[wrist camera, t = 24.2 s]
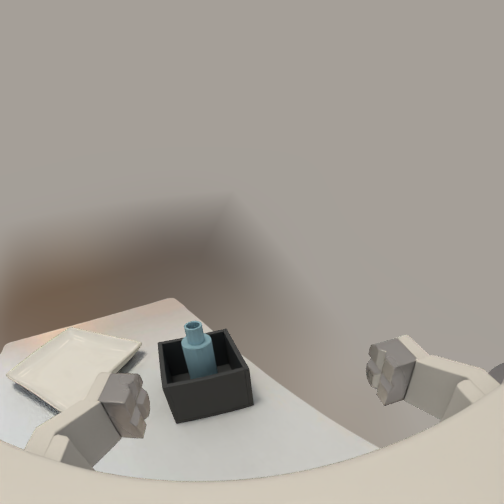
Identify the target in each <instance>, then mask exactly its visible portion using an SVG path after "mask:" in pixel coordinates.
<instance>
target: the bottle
mask: <svg viewBox="0 0 504 504" xmlns="http://www.w3.org/2000/svg"><path fill="white" fill-rule="evenodd" d="M184 328H185V332H186V337H185V338H183V339H182V341H181V344H182V348H183V352H184V356H185V360H186V364H187V368H188V371H189V375H190V379H195V378H200V377H204V376H209V375H213V374H217V373H218V371H217V366H216V361H215V356H214V350H213V345H212V340H211V337H210V336H209V335H207V334H204V333H203V329H202V324H201V322H199V321H191V322H188V323H186V324H185V325H184Z"/></svg>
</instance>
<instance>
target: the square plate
mask: <svg viewBox="0 0 504 504" xmlns="http://www.w3.org/2000/svg"><path fill="white" fill-rule="evenodd" d="M141 345H142V343H141V342H138V341H133V340H128V339H123V338H118V337H114V336H109V335H105V334H100V333H96V332H91V331H87V330H82V329H77V328H73V327H69V328H67V329H66V330H65V331H63V332H62V333H60V334H59V335H57V336H56V337H54V338H53V339H51V340H50V341H48V342H47V343H45V344H44V345H43V346H41V347H40V348H39V349H37V350H36V351H34V352H33V353H32V354H31V355H29V356H28V357H27V358H25V359H24V360H23V361H22V362H20V363H19V364H18V365H17V366H15V367H14V368H13V369H12V370H10V371H9V372H8V373H7V374H6V376H7V377H8V378H9V379H10V380H12V381H14V382H15V383H17V384H19V385H21V386H22V387H24V388H26V389H27V390H29V391H31V392H32V393H34V394H35V395H37V396H38V397H39V398H41V399H42V400H44V401H45V402H47V403H48V404H49V405H51V406H52V407H54V408H55V409H57V410H58V411H60V412H62V411H64V410H66V409H67V408H69V407H70V406H72V405H74V404H75V403H77V402H78V401H80V400H85V398H86V396H87V394H88V392H89V390H90V388H91V386H92V385H93V383H94V381H95V379H96V377H97V375H98V374H99V373H101V372H106V373H117V372H118V371H119V370H120V369H121V368H122V367H123V366H124V365H125V364H126V363H127V362H128V361H129V360H130V359H131V358H132V357H133V356H134V355H135V353H136V352H137V351H138V349H139V348H140V346H141Z"/></svg>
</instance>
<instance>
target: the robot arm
mask: <svg viewBox="0 0 504 504" xmlns="http://www.w3.org/2000/svg"><path fill="white" fill-rule="evenodd" d="M369 355H370V357H371V359H370V361H369V362H368V363H367V368H366V375H367V379H368V382H369V384H370V385H371V387H373V388H375V389H377V396H378V398H379V399H380V400H381V402H382V403H383V405H384V406H386V405H389V404H392V403H395V402H398V401H401V400H404V401H406V402H408V403H410V404H411V405H413V406H415V407H417V408H419V409H421V410H423V411H425V412H427V413H429V414H431V415H432V416H434V417H436V418H438V419H440V422H439V423H438V424H436V425H434V426H432V427H430V428H428V429H426V430H424V431H422V432H420V433H417V434H415V435H413V436H411V437H408V438H406V439H404V440H401V441H399V442H396V443H394V444H392V445H389V446H386V447H384V448H381V449H378V450H376V451H373V452H370V453H367V454H364V455H361V456H358V457H355V458H351V459H348V460H345V461H341V462H338V463H334V464H330V465H326V466H322V467H318V468H313V469H309V470H304V471H299V472H294V473H288V474H282V475H276V476H269V477H261V478H252V479H242V480H227V481H168V480H154V479H144V478H135V477H127V476H121V475H114V474H109V473H103V472H98V471H95V470H94V469H93V468H92V467H93V466H94V465H95V464H96V463H97V462H98V461H99V460H100V459H101V458H102V457H103V456H104V455H106V454H107V453H108V452H109V451H110V450H111V449H112V448H113V447H114V446H115V445H116V443H117V442H118V441H119V440H120V439H121V437H126V438H143V437H144V433H145V429H146V423H145V421H144V419H146V418H147V417H148V416H149V412H150V401H149V396H148V394H147V392H146V391H145V390H144V389H143V388H141V387H142V384H143V381H142V379H141V377H140V375H138V374H130V373H106V372H101V373H99V374H98V375H97V377H96V379H95V381H94V383H93V385H92V386H91V388H90V390H89V392H88V394H87V396H86V398H85V400H80V401H78V402H77V403H75V404H74V405H72V406H70V407H69V408H67V409H66V410H64V411H62V412H61V413H59V414H57V415H56V416H54V417H53V418H51V419H49V420H48V421H46V422H44V423H43V424H41V425H39V426H38V427H36V429H35V430H34V432H33V434H32V436H31V438H30V439H29V441H28V443H27V445H26V447H25V449H24V450H23V449H21V448H18V447H16V446H13V445H11V444H9V443H6V442H4V441H2V440H0V504H504V380H503V382H502V384H501V385H500V384H499V383H498V382H497V381H496V380H495V379H494V378H493V377H492V376H491V375H489V374H488V373H487V372H486V371H485V370H484V369H482V368H478V367H474V366H471V365H467V364H463V363H460V362H456V361H453V360H449V359H445V358H442V357H439V356H435V355H432V356H430V355H428V354H427V353H426V352H425V351H424V350H423V349H422V348H421V347H420V346H419V345H418V344H417V343H416V342H415V341H414V340H413V339H412V338H410V336H408V335H403V336H400V337H397V338H394V339H392V340H388V341H384V342H381V343H377V344H373V345H371V347H370V349H369Z"/></svg>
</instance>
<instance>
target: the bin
mask: <svg viewBox="0 0 504 504" xmlns="http://www.w3.org/2000/svg"><path fill="white" fill-rule="evenodd" d="M204 334H207V335H209V336H210V337H211V340H212V345H213V350H214V356H215V361H216V366H217V371H218V373H217V374H213V375H209V376H204V377H200V378H195V379H190V375H189V371H188V368H187V364H186V360H185V356H184V352H183V348H182V344H181V341H182V339H183V338H180V339H175V340H169V341H164V342H158V351H159V362H160V371H161V380H162V388H163V391H164V394H165V396H166V399H167V401H168V404H169V407H170V409H171V412H172V414H173V417H174V419H175V421H176V423H181V422H187V421H192V420H196V419H201V418H206V417H210V416H214V415H218V414H222V413H226V412H230V411H234V410H238V409H241V408H245V407H249V406H252V405H254V404H253V396H252V388H251V380H250V372H249V368H248V366H247V364H246V363H245V361H244V359H243V357H242V356H241V354H240V352H239V350H238V349H237V347H236V345H235V343H234V341H233V340H232V338H231V336H230V334H229V333H228V331H227V329H223V330H218V331H213V332H209V333H204Z"/></svg>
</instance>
